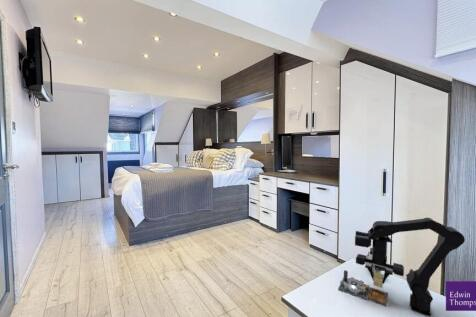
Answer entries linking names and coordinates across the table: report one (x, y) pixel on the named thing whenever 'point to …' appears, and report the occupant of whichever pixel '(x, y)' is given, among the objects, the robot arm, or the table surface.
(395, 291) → the table surface
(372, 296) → the brown open tray
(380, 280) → the tan rectangular block
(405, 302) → the table surface
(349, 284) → the sprocket
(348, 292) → the sprocket base
